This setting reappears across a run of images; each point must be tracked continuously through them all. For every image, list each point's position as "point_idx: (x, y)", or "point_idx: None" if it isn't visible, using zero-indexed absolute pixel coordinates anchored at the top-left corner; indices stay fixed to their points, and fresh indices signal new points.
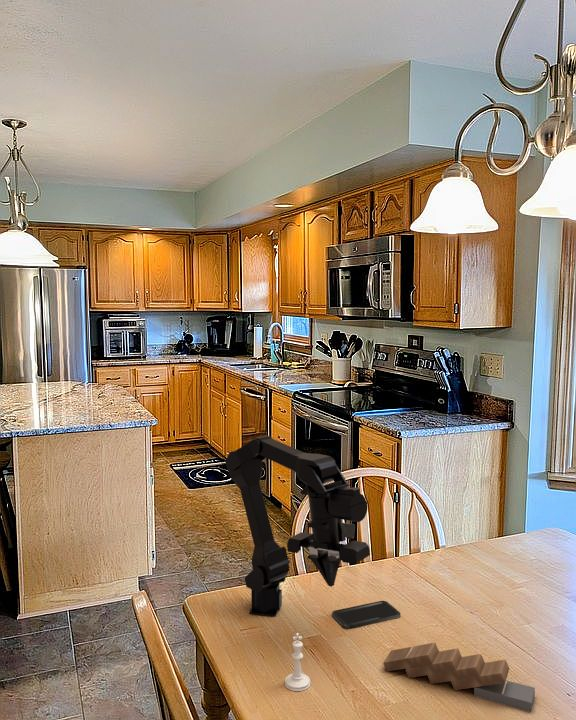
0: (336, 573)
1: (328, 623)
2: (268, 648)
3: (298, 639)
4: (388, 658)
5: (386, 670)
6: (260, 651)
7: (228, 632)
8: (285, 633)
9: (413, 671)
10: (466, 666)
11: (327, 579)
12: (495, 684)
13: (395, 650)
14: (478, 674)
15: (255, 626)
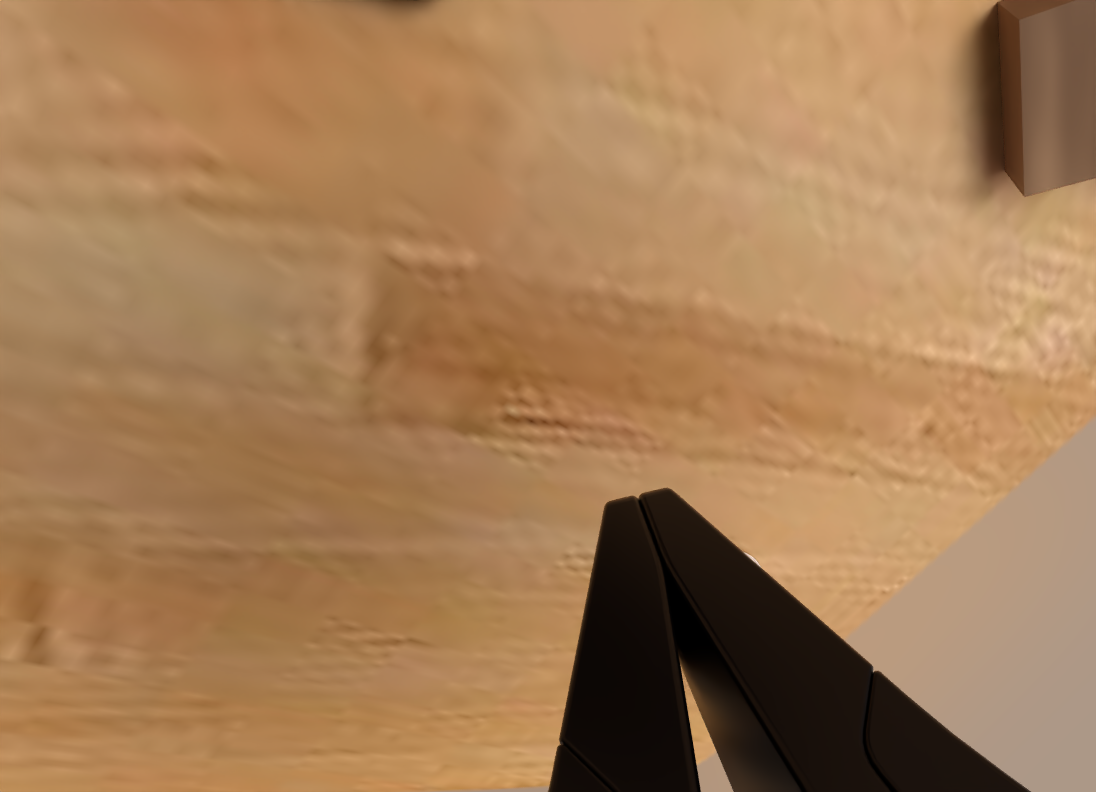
0: (817, 626)
1: (246, 66)
2: (353, 600)
3: None
4: (1051, 142)
5: (1009, 173)
6: (358, 639)
7: (42, 719)
8: (230, 458)
9: None
10: None
11: (696, 696)
12: None
13: (1071, 16)
14: None
15: (24, 581)
